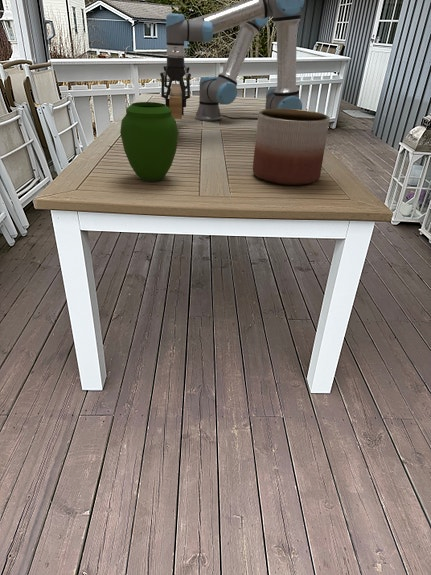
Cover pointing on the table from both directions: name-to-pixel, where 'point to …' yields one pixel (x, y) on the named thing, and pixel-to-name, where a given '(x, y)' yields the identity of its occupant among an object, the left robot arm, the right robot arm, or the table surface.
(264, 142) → the planter
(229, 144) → the table surface
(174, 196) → the table surface
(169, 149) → the vase
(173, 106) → the beam
